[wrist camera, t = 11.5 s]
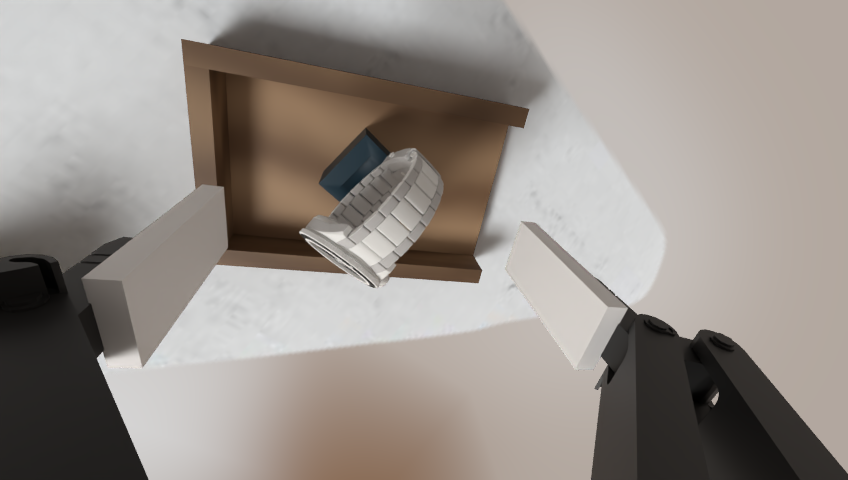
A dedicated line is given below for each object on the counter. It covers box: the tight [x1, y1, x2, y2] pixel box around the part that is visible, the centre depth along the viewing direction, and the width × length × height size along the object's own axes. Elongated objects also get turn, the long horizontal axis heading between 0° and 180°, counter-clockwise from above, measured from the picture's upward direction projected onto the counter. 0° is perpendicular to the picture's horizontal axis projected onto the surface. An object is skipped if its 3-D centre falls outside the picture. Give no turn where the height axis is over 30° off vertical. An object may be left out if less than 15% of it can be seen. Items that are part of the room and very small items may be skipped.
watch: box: [299, 128, 444, 288], centre depth 20 cm, size 6×8×11 cm
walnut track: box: [181, 39, 529, 283], centre depth 24 cm, size 13×20×4 cm
